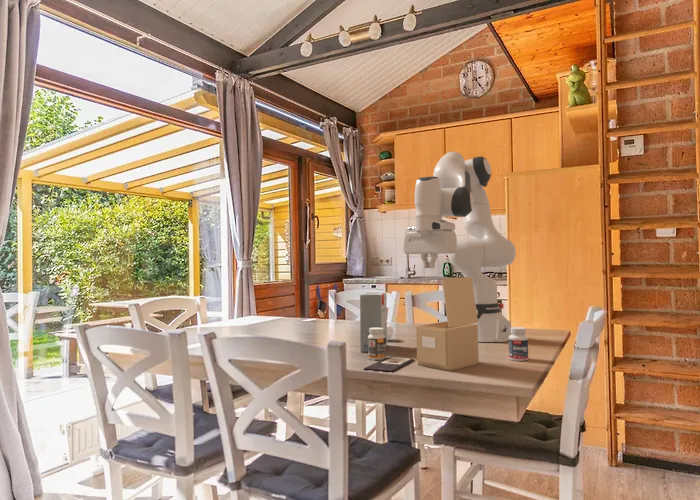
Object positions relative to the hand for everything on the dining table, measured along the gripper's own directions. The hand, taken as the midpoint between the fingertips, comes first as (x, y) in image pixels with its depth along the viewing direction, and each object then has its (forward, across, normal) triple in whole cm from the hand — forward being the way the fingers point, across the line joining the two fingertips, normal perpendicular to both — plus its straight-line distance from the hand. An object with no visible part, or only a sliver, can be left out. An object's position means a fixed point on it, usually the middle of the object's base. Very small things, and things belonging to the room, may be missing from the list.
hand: (429, 268), depth 172 cm
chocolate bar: (+30, -1, -18) cm, 35 cm away
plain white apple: (+29, -35, +13) cm, 47 cm away
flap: (+17, +17, -5) cm, 25 cm away
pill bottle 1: (+29, -11, -14) cm, 34 cm away
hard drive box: (+29, -25, -2) cm, 39 cm away
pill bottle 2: (+29, +22, +16) cm, 40 cm away
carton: (+29, +11, -5) cm, 32 cm away
